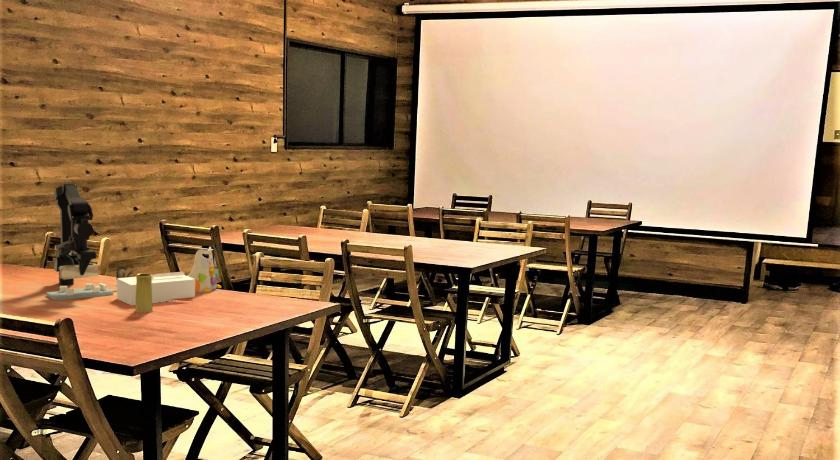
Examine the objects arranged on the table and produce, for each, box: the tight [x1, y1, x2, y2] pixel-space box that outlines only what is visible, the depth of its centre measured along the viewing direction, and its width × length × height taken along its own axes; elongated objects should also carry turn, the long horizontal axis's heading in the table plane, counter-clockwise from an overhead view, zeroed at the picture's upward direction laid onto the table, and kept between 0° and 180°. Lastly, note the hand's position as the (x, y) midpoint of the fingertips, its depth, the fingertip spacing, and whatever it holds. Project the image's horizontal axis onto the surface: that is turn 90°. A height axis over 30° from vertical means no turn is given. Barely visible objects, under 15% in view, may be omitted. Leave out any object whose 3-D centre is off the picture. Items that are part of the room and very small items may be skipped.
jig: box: [45, 282, 114, 301], centre depth 336 cm, size 10×22×4 cm, turn 132°
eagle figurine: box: [115, 266, 135, 287], centre depth 351 cm, size 8×7×9 cm
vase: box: [134, 272, 153, 314], centre depth 310 cm, size 6×6×14 cm
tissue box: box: [116, 271, 196, 306], centre depth 334 cm, size 14×25×11 cm, turn 129°
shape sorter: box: [187, 246, 222, 293], centre depth 353 cm, size 20×10×18 cm, turn 168°
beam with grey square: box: [60, 262, 102, 280], centre depth 335 cm, size 4×14×5 cm, turn 132°
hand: (79, 274), depth 336 cm, fingers closed on beam with grey square, 4 cm apart
